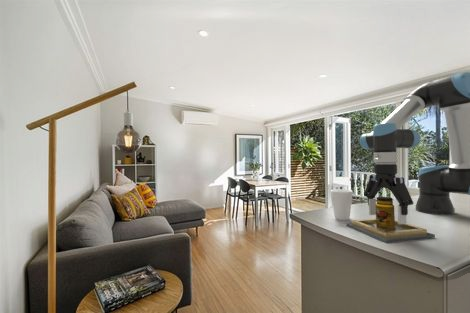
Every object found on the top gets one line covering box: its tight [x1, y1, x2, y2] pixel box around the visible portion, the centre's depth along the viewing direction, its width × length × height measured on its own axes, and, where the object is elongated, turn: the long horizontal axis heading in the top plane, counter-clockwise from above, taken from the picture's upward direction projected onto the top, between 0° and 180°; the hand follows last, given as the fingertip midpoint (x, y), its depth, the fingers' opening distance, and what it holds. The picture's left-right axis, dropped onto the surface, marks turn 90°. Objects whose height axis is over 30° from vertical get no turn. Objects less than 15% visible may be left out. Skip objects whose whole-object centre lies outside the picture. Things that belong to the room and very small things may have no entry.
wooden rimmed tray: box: [345, 218, 436, 244], centre depth 89 cm, size 20×20×2 cm
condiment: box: [374, 196, 398, 231], centre depth 90 cm, size 7×8×12 cm
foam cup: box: [330, 188, 354, 221], centre depth 109 cm, size 10×9×13 cm
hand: (386, 218), depth 89 cm, fingers open, 13 cm apart
